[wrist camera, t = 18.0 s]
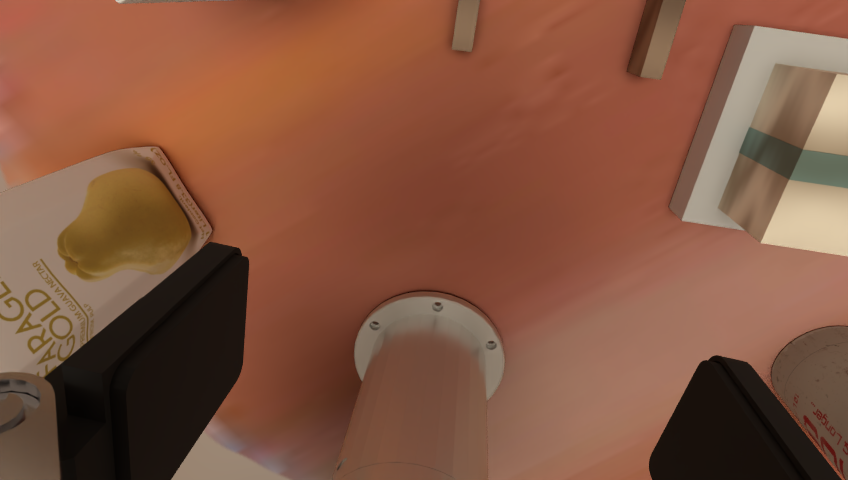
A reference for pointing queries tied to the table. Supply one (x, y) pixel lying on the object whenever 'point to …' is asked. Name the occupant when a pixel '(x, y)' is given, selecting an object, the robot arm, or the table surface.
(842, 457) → the thermos bottle
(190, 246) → the juice carton
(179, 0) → the skincare box
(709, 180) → the plate
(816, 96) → the parcel
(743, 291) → the table surface
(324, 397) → the table surface
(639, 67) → the shelf bay
